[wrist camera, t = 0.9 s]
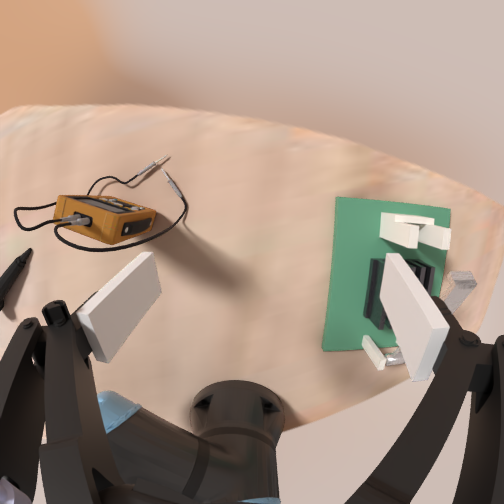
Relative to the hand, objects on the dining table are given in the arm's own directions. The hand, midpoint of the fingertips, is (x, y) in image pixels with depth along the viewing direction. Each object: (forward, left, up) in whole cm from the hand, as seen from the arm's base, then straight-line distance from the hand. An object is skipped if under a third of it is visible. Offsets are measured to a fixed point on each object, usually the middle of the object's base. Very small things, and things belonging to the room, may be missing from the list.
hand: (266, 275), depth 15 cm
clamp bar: (-8, -18, -11) cm, 23 cm away
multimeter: (+5, +16, -20) cm, 26 cm away
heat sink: (-7, -18, -20) cm, 28 cm away
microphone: (-10, +45, -21) cm, 50 cm away
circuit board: (-6, -18, -21) cm, 28 cm away
